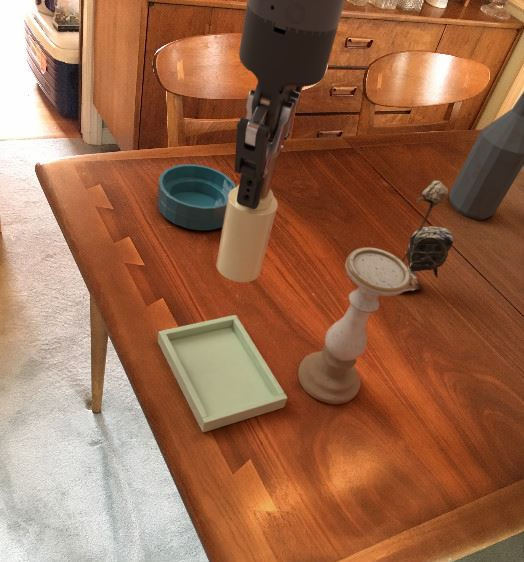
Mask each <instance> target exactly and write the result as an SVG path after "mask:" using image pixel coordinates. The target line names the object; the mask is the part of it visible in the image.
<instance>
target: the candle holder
mask: <svg viewBox="0 0 524 562" xmlns="http://www.w3.org/2000/svg"><path fill="white" fill-rule="evenodd" d="M406 265H407V264H406ZM406 265H405V262H404V261H403V262H402V259H400V258H399V257H397V256H396V255H395V254H393V253H391V252H389V251H387V250H384V249H381V248H376V247H370V246H369V247H367V246H366V247H359V248H356V249H354V250H352V251H351V252H350V253H349V254H348V255H347V256H346V260H345V262H344V269H345V273H346V275H347V276H348V277H349V279H350V280H351V281H352V282H353V283H354V284H355V285H356V286H357V288H356V289H353V290H352V291H350V293H349V294H348V302H349V305H348V308H347V310H346V312H345V313H344V315H342V317H340V319H338V320H337V321H336V322H334V323H332V324H331V326H330V327H329V328H328V329H327V331H326V332H325V336H324V345H323V347H322V349H321V351H314V352H312V353H311V352H310V353H309V354H307V355H306V356H305V357H304V358H303V359H302V360H301V362H300V364H299V366H298V372H297V374H298V375H297V376H298V377H297V378H298V380H299V383H300V386H301V387H302V388H303V390H304V391H305V392H306V393H307V395H309V396H311V397H312V398H314V399H315V400H317V401H319V402H321V403H325V404H329V405H341V404H346V403H348V402H350V401H352V400H353V399H354V398H355V397H356V396H357V394H358V392H359V391H360V388H361V376H360V374H359V372H358V370H357V368H356V367H355V366H356V364H357V359H358V358H360V357H361V356H362V355H363V354H364V353H365V351H366V350H367V346H368V332H367V325H368V321H369V319H370V317H371V314H372V313H375V312H377V311H378V310H379V309H380V305H381V303H380V300H379V298H380V296H384V297H394V296H399V295H400V294H403V293H405V292H406V291H405V290H406V289H407V288H408V286H409V284H410V272H409V270H408V268H407V266H408V265H407V266H406Z"/></svg>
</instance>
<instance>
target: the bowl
mask: <svg viewBox="0 0 524 562" xmlns="http://www.w3.org/2000/svg"><path fill="white" fill-rule="evenodd" d="M236 187H237V185H236V183H235V182H234V180H233V179H231V178H230V176H228V175H227V174H225V173H224V172H222V171H220V170H218V169H216V168H212V167H210V166H206V165H200V164H196V163H194V164H193V163H191V164H190V163H183V164H178V165H173V166H171V167H167V169H165V170H164V171H163V172H162V173H161V174H160V175H159V179H158V187H157V199H156V205H157V208H158V211H159V212H160V214H161V215H162V216H163V217H164V218H165V219H166V220H167V221H170V222H171V223H172V224H174V225H177V226H179V227H182V228H184V229H188V230H195V231H212V230H216V229H220V228H221V229H222V228H223V222H224V216H225V211H226V205H227V200H228V195H229V192H230V191H231V190H232V189H234V188H236Z"/></svg>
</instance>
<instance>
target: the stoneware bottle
mask: <svg viewBox="0 0 524 562" xmlns="http://www.w3.org/2000/svg"><path fill="white" fill-rule="evenodd" d="M278 154H279V153H278V151H277V152H276V153H274V154H272V156H271V160H270V163H269V167H268V169H269V171H268V174H267V175H266V177H265V181H264V186H263V190H262V195H261V199H260V203H259V205H258V207H257V208H256V209H251V208H248V207H245V206H242V205H240V204H238V203H237V194H238V189H239V184H238V185H236V188H234V189H232V190H231V191H230V192H229V195H228V200H227V205H226V211H225V216H224V222H223V227H221V234H220V238H219V239H220V240H219V246H218V251H217V256H216V262H215V266H216V269H217V271H218V273H219V274H221V276H223V277H224V278H226V279H227V280H230V281H232V282H236V283H250V282H252V281H253V282H254V281H255V280H256V279H258V278H259V277H260V275H261V273H262V269H263V266H264V263H265V258H266V253H267V250H268V246H269V243H270V239H271V235H272V231H273V227H274V222H275V220H276V215H277V211H278V207H279V204H278V200H277V199H276V197H275V196H274V192H273V190H272V189H271V186H272V184H271V182H272V183H273V181H272V178H273V179H274V176H273V174H274V175H275V172H274V170H275V171H276V168H275V166H276V167H277V164H276V161H277V162H278V160H277V157H278V158H279V155H278Z"/></svg>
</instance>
